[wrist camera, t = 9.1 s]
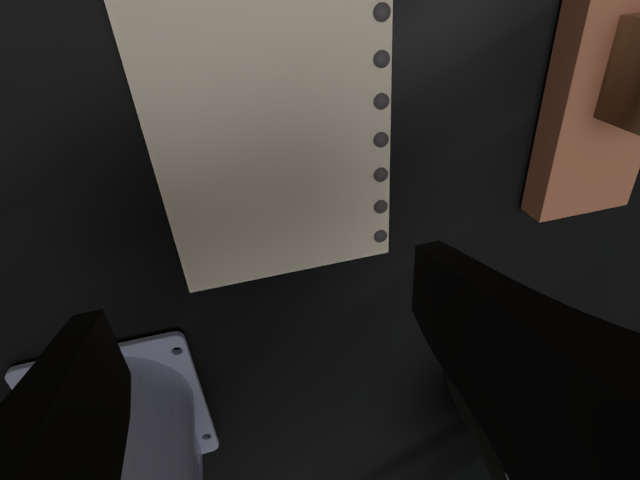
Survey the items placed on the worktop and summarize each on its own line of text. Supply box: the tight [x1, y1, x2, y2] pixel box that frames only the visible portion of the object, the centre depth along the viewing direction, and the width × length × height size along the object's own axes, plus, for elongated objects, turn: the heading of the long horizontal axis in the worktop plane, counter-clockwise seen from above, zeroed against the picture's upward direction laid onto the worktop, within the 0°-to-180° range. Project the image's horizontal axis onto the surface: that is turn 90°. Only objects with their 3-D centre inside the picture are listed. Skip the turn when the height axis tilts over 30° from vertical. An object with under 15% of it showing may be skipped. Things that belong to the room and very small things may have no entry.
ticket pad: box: [104, 0, 393, 293], centre depth 17 cm, size 14×9×2 cm, turn 4°
